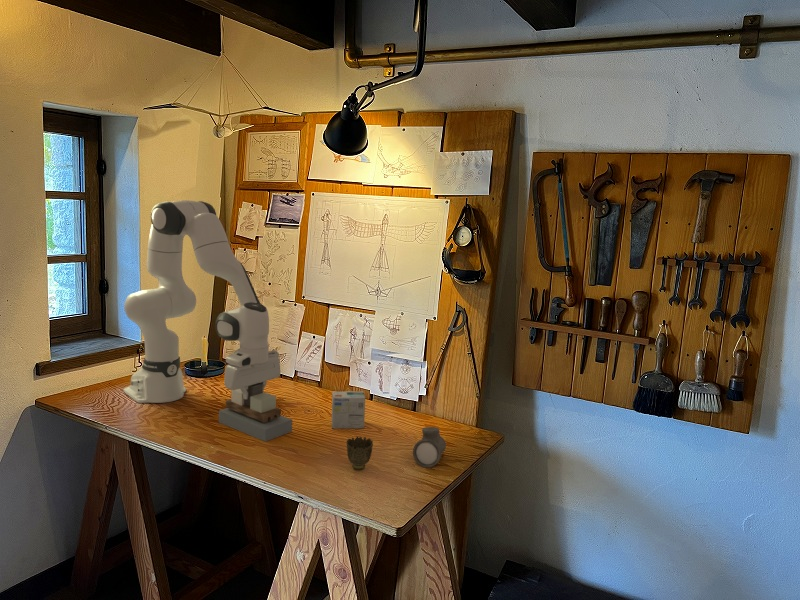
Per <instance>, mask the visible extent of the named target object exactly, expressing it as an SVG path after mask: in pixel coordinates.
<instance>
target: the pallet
mask: <svg viewBox="0 0 800 600" xmlns="http://www.w3.org/2000/svg"><path fill="white" fill-rule="evenodd" d="M246 390H247V392H248V393H250V397H251V396H254V395H258V394H261V393H264V390H263V384H261V383H257V384H254V385H250V386H248V389H246ZM226 408H229V409H231V410H234V411H236V412H239V413H241V414H244V415H246V416H249V417H251V418H254V419H256V420H259V421H262V422H267V421H268V419H269V420H273V419H274V417H275V418H278V417H281V416H282V414H281V413H282V409H280V408H278V407H276V408H275V409H272V410H269V411H266V412H263V413H260V412H257V411H254V410H252V409H250V399H244V405H242V406H241V405H239V404H236V403H233V402H231V398H230V399H226V400H225V409H226Z"/></svg>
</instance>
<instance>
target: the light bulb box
mask: <svg viewBox="0 0 800 600" xmlns="http://www.w3.org/2000/svg"><path fill="white" fill-rule="evenodd" d="M364 393H365V392H364V391H363V390H358V391H354V390H353V391H349V390H348V391H334V390H333V391H332V395H331V399H332V400H331V428H332V430H333V429H364V428H365V419H366V418H365V417H366V416H365V415H366V414H365V413H366V395H365V394H364Z"/></svg>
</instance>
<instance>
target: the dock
mask: <svg viewBox="0 0 800 600" xmlns="http://www.w3.org/2000/svg"><path fill="white" fill-rule="evenodd" d="M218 423H219V424H221V425H224V426H227V427H229V428H231V429H234V430H236V431H239V432H242V433H243V434H246V435H249V436H251V437H253V438H255V439H258V440H260V441H262V442H269V441H271V440H273V439H276V438H278V437H281V436H283V435H286V434H289V433H292V432H293V419H292V418H289V417H286V416H284V415H281V417H278V418H275V417H274V419H273V420H269V419H268V421H267V422H262V421H259V420H256V419H254V418H251V417H249V416H246V415H244V414H241V413H239V412H236V411H234V410H231V409H229V408H226V407H225V408H222V409H219V410H218Z"/></svg>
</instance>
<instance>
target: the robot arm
mask: <svg viewBox="0 0 800 600" xmlns="http://www.w3.org/2000/svg"><path fill="white" fill-rule="evenodd" d="M150 223H151V226H150V230H149V236H148V240H147V241H148V242H147V254H146V255H147V257H146V269H147V273H148V274H150V275H151V276H152V277H153V278H156V279H157V281H158V287H157V288H149V289H141V290H139V291H136V292H133V293H130V294H128V295H127V297H126V299H125V301H124V304H123V305H124V312H125V314H126V316H127V318H128V319H129V320H130V321H131V322H134V323H135V324H136V325H137V326H138V328H139V329H140V330H141V332H142V335H143V340H144V357H142V358H140V359H141V362H142V365H141V368H139V370H137V371H136V372H134V373H133V374H132V375H131V376H130V377H131V378H130V385H129V386H126V387H124V388H123V393H125V394H126V395H128V396H129V397H130V398H131V399H132V400H134V401H135V402H136V403H138V404H139V403H140V404H143V403H144V404H146V403H152V404H153V403H154V404H155V403H157V404H159V403H161V404H162V403H172V402H174V401H177V400H180V399H182V398H183V397H184V395H185V393H186V391H187V388H186V387H185V386H184V377H183V370H182V369H181V357H180V353H179V349H180V345H179V343H180V342H179V341H180V340H179V336H178V334H177V333H176V332H174V331H173V330H171V329H169V328H168V326H167V323H166V320H168V319H174V318H180V317H183V316H185V315H188V314H189V313H190V314H191V313H192V312H194V310H195V308H196V305H197V296H196V294H195V292H194V290H193V289H192V288H190V287H189V286H188V285H187V283H186V282H185V279H184V276H183V270H182V269H183V266H182V265H183V246H184V237H185V236H187V237H189V238H190V240H191V244H192V248H193V252H194V256H195V260H196V262H197V264H198V266H199V267H200V269H201V270H202V271H204V272H206V273H207V274H209V275H210V276H215V277H218V278H221V279H223V280H225V281H227V282H228V283H230V285H231V287H233V289H234V292H235V294H236V297H237V299H238V301H239V303H240V305H241V306H238V307H237V308H234V309H231V310H225V311H223V312H221V313H219V314H218V316H217V317H216V320H215V331H216V333H217V335H218V337H219V338H221V339H222V340H223V341H226V342H230V341H231V342H232V341H234V342H235V341H238V342H239V348H238V349H236V350H234V352H232V353H231V354H228V355H227V356H226V358H225V362H226V363H227V365H226V366H225V370H224V380H223V381H224V386H225V388H226V389H228V390H230V391H231V390H236V389H241V391H242V393H243V399H250V393H248V392H247V390H246V389H248V386H250V385H254V384H257V383H261V384H263V389H264V390H265V388H266V386H267V383H268V382H267V381H271V380H274V379H278V378H279V377H280V376H281V362H280V353H279V352H278V351H277V350H276V349H272V350H269V349H270V348H269V341H268V338H269V333H270V317H269V311H268V309H267V307H266V306H265V305H264V304H262V303H261V302H260V300H259V297H258V296H257V293H256V291H255V289H254V286H253V283H252V281H251V279H250V277H249V275H248V272H247V270H246V268H245V267H244V265H243V263H242V262H241V261H239V259H238V258H237V257H236V255H235V254H234V252H233V250H232V248H231V246H230V243H229V239H228V236H227V234H226V231H225V228H224V226H223V224H222V222H221V220H220V218H219V217H218V216H217V213H216V208H214V207H213V205H212V204H210V203H209V202H207V201H206V202H205V201H203V200H198V201H195V200H187V199H186V200H185V199H184V200H183V199H182V200H175V201H167V200H166V201H162V202H159V203H157V204H155V205H154V206H153V207H152V209H151V213H150Z"/></svg>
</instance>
